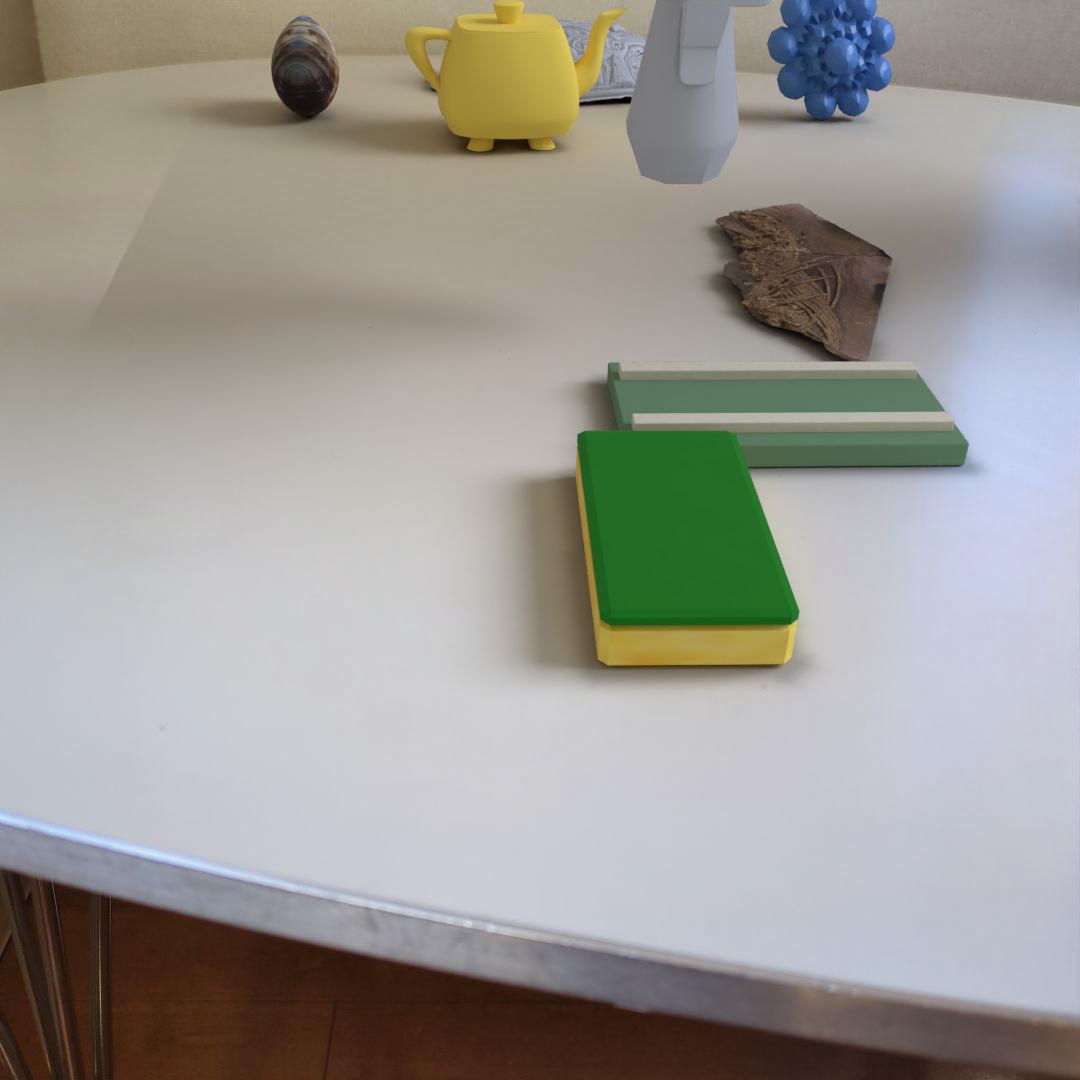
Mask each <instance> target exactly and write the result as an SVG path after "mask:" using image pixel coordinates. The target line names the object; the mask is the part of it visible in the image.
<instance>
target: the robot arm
mask: <svg viewBox="0 0 1080 1080" xmlns="http://www.w3.org/2000/svg"><path fill="white" fill-rule="evenodd" d="M771 2H772V0H682V1H681V7H682V8H683V13H682V24H681V35H680V43H679V60H678V77H679V79H680V81H681V82H682V83H684V84H685V85H709V84H711V83H712V82H713V81H714V80H715V77H716V71H717V61H718V51H719V47H720V44H721V40H722V37H723V34H724V31H725V27H726V24H727V21H728V18H729V14H730V8H731V7H732V8H762V7H766V6H768V5H769V4H770V3H771Z"/></svg>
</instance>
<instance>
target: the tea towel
mask: <svg viewBox="0 0 1080 1080" xmlns="http://www.w3.org/2000/svg"><path fill="white" fill-rule="evenodd" d="M606 375H607V376H606V383H607V387H608V392H609V396H610V400H611V401H610V402H611V405H612V409H613V414H614V418H615V422H616V427H617V431H729V432H731V433H733V434H736V436H737V439H738V442H739V445H740V447H741V450H742V453H743V456H744V459H745V461H746V464H747V467H748V468H788V467H789V468H790V467H791V468H792V467H793V468H794V467H795V468H798V467H800V468H801V467H804V468H805V467H903V466H905V467H906V466H907V467H910V466H911V467H912V466H915V467H916V466H917V467H918V466H964V465H965V462H966V459H967V455H968V450H969V447H970V443H969V442H968V440H967V438H966V437H965V435H964V434H963V433H962V432H961V430H960V429H959V428H958V426H957V425H956V424H955V422H956V421H955V419H954V418H953V416H952V415H951V414H950V412H949V411H946V410H945V408H944V407H943V405H942V404H941V402H940V401H939V400H938V399H937V397H936V396H935V394H934V393H933V392H932V390H931V388H930V387H929V386H928V385H927V383H926V382H925V380H924V379H923V378H922V376H921V375H920V373H919V372H918V368H917V367H916V366H915V364H914V363H913V362H912V361H911V360H906V361H905V360H903V361H901V360H900V361H899V360H895V361H894V360H893V361H892V360H891V361H890V360H889V361H887V360H886V361H881V360H880V361H875V360H874V361H867V362H852V361H652V362H651V361H648V362H647V361H642V362H639V361H638V362H637V361H636V362H635V361H631V362H630V361H629V362H627V361H626V362H624V361H622V362H617V361H616V362H615V361H614V362H611V361H610V362H608V363H607V374H606Z"/></svg>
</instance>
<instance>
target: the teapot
mask: <svg viewBox="0 0 1080 1080" xmlns="http://www.w3.org/2000/svg"><path fill="white" fill-rule="evenodd" d="M492 6H493V10H494V12H495V13H494V12H493V13H492V12H491V13H469V14H462V15H458V16H457V17H456V18H455V20H454V22H453V24H452V28H451V29H446V28H441V27H432V26H415V27H412V28H410V29H409V30H407V32H406V33H405V36H404V43H405V47H406V50H407V51H406V52H407V53H408V55H409V57H410V59H411V60H412V62H413V64H414V65H415V67H416V68H417V70H418V71H419V72H420V73H421V75H422V76H423V77H424V78H425V79H426V81H427V82H428V83H429V84H430V86H431V85H432V86H433V87H434V88H435V89H434V90H435V91H436V92H437V104H438V109H439V111H440V114H441V116H442V117H443V119H444V121H445V123H446V125H447V127H448V128H449V130H450V132H451V133H452V134H454V135H456V136H458V137H462V138H470V139H469V142H468V144H467V146H466V148H467V150H469V151H473V152H488V151H491V150H493V149H494V143H495V140H525V139H526V140H527V142H528V146H529V148H530V149H533V150H535V151H550V150H554V149H556V145H555V143H554V141H553V139H552V137H553V138H554V137H559V136H565V135H567V134H569V133H570V131H571V130H572V128H573V126H574V125H575V123H576V120H577V119H578V116H579V112H580V102H579V98H580V97H581V96H583V95H584V94H586V93H587V92H588V91H589V90H590V89H591V88H592V87H593V85H594V84H595V82H596V80H597V78H598V76H599V73H600V69H601V64H602V58H603V51H604V44H605V40H606V36H607V33H608V31H609V28H610V26H611V25H612V23H615V21H616V20H617V19H618V18H619V17H620V16H622V15H623V14H624V13H625V12H626V11H628V8H626V7H625V8H624V7H623V8H616V9H613V10H608V11H604V12H603V13H601V14H599V15H598V16H597V17H596V19H595V20H594V21H593V22H592V23H593V25H592V28H591V31H590V35H589V40H588V44H587V48H586V50H585V52H584V54H583V56H582V57H581V58H580V59H579V60H578V61H576V62H575V63H574V62H573V58H572V54H571V51H570V48H569V45H568V42H567V39H566V36H565V33H564V30H563V28H562V26H561V24H560V23H559V22H558V21H557V20H556V19H557V18H556V17H554V16H553V15H548V14H542V13H541V14H540V13H523V11H524V7H525V3H524V2H523V1H521V0H495V1H493V2H492ZM431 40H432V41H433V40H440V41H445V42H446V41H447V43H446V46H445V48H444V53H443V56H442V60H441V66H440V71H439V72H440V76H439V77H438V76H437V74H438V73H436V72H437V71H436V70H435V69H434V67H433V65H432V64H431V61H430V59H429V56H428V52H427V50H426V42H428V41H431ZM433 87H432V88H433Z"/></svg>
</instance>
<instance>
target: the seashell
mask: <svg viewBox="0 0 1080 1080" xmlns="http://www.w3.org/2000/svg"><path fill="white" fill-rule="evenodd" d="M270 63H271V64H270V70H271V72H270V73H271V80H272V83H273V87H274V90H275V93H276V94H277V96H278V98H279V99H280V101H281V103H282V104H284V106H285V107H286V108H287V109H289V110H290V111H291V112H293V113H295V114H296V115H299V116H304V117H314V116H316V115H317V116H318V115H319V114H321V113H322V112H324V111H325V110H326V109H327V108H328V107H329V106H330V104H332V103H333V101H334V98H335V96H336V94H337V92H338V88H339V83H340V64H339V59H338V55H337V51H336V48H335V46H334V44H333V42H332V40H331V39H330V37H329V36H328V34H327V33H326V31H325V30H324V28H323V27H322V26H321V25H320V24H319V23H318V22H317V21H316V20H314V19H313V18H312V17H310V16H308V15H306V14H302V15H301V14H300V15H298V16H297V17H295V18H294V19H292V20H291V21H290V22H289V23H288V24H286V26H285V27H284V29H282V30H281V32H280V34H279V35H278V38H277V39H276V42H275V44H274V47H273V50H272V53H271V62H270Z"/></svg>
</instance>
